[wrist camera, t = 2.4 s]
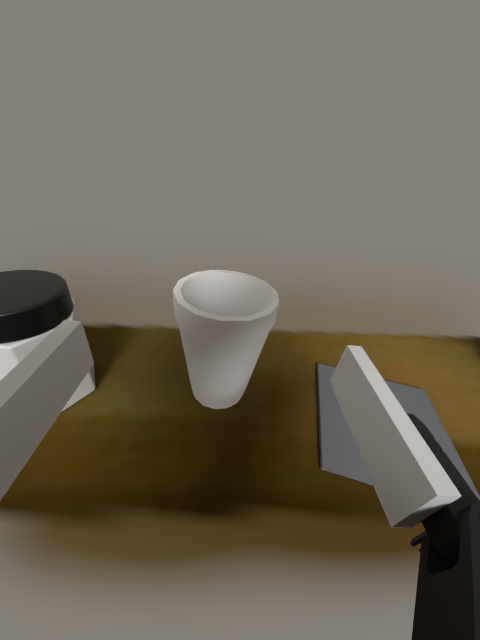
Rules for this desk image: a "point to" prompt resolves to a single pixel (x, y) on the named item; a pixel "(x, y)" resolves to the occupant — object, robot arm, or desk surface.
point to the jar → (34, 318)
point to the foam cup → (223, 331)
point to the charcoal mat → (340, 444)
